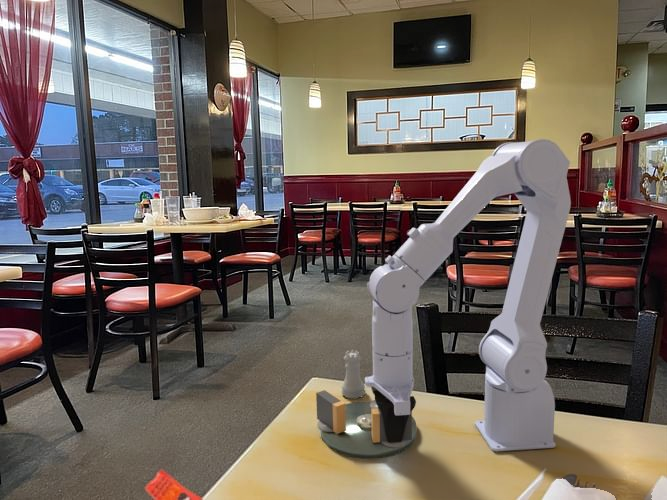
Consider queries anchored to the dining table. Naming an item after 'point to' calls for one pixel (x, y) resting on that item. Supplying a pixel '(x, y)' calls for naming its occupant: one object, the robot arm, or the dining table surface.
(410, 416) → the knob
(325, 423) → the knob
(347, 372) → the rook chess piece
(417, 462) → the dining table surface
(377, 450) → the base plate
